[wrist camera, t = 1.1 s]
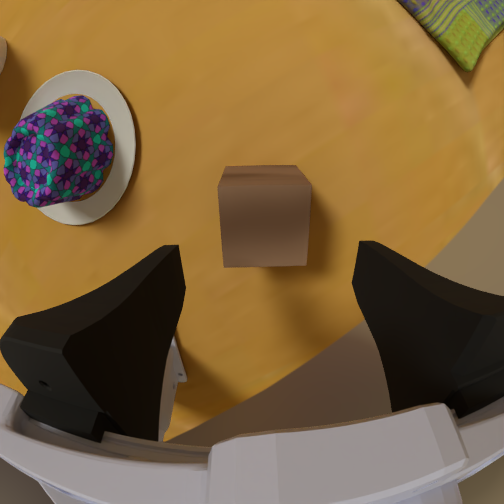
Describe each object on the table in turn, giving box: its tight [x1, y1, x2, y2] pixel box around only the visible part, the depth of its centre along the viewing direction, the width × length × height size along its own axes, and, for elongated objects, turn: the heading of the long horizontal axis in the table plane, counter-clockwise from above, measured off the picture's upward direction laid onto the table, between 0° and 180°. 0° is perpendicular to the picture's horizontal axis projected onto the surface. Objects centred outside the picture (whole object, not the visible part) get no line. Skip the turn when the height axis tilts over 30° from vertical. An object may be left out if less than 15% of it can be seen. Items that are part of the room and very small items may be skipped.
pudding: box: [4, 70, 136, 225], centre depth 14 cm, size 12×12×5 cm
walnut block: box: [218, 165, 312, 268], centre depth 16 cm, size 4×4×5 cm
